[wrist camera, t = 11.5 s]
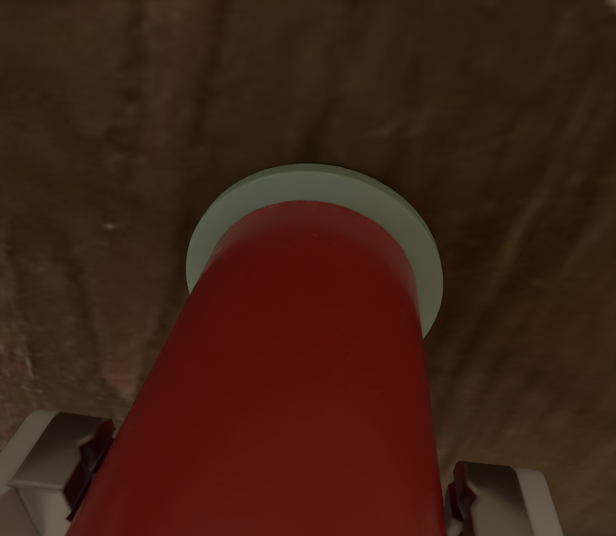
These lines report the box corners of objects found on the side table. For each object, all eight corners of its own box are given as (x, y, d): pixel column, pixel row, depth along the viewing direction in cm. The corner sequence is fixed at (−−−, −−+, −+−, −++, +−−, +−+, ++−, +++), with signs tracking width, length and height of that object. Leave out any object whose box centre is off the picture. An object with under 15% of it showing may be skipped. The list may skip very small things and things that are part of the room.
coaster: (178, 151, 13) (170, 159, 12) (467, 174, 12) (471, 184, 12) (201, 356, 17) (196, 369, 17) (417, 381, 17) (419, 394, 16)
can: (198, 189, 13) (-294, 889, 3) (435, 210, 12) (632, 1079, 3) (214, 358, 16) (-7, 935, 7) (399, 379, 16) (436, 1024, 6)
